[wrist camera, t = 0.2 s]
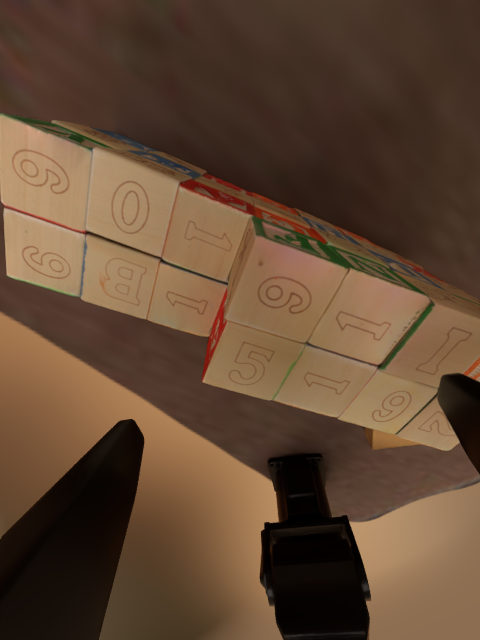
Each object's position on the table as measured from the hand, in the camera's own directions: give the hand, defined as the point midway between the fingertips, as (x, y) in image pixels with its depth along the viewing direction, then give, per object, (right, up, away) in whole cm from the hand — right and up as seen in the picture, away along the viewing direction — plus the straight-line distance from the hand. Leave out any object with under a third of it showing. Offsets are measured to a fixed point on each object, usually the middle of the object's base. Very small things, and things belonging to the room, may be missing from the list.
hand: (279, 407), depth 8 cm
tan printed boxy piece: (0, +8, +12) cm, 15 cm away
